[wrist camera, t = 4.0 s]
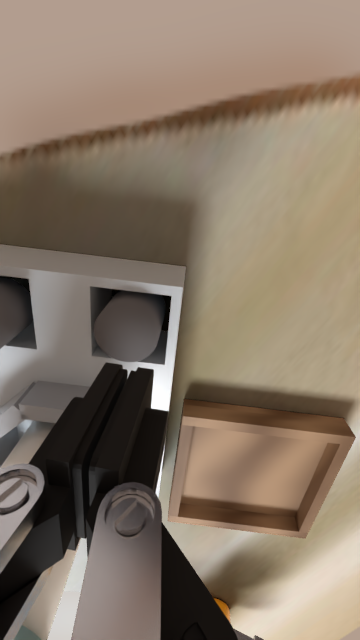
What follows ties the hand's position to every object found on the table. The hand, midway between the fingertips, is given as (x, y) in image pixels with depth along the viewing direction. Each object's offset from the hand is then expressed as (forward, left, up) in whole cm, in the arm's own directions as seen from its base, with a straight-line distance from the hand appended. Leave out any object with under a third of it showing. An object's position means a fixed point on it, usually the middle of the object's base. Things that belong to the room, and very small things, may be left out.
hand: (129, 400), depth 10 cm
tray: (-8, +13, -9) cm, 18 cm away
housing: (+5, +5, -9) cm, 12 cm away
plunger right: (+1, 0, -8) cm, 8 cm away
